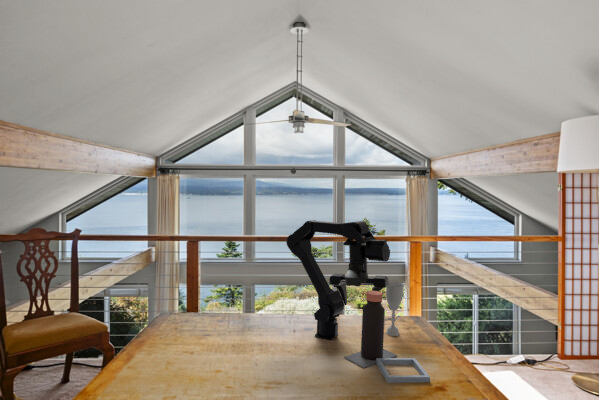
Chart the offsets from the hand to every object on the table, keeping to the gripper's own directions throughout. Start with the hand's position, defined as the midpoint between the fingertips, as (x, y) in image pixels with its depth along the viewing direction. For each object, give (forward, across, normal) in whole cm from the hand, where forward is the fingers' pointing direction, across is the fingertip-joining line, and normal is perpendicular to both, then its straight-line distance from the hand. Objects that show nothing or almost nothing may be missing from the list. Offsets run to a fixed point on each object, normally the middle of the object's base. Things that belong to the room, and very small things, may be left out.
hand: (359, 306), depth 140 cm
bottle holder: (+14, +16, -13) cm, 25 cm away
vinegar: (+13, +6, -7) cm, 16 cm away
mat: (+14, +5, -7) cm, 16 cm away
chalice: (+14, +8, +16) cm, 23 cm away
